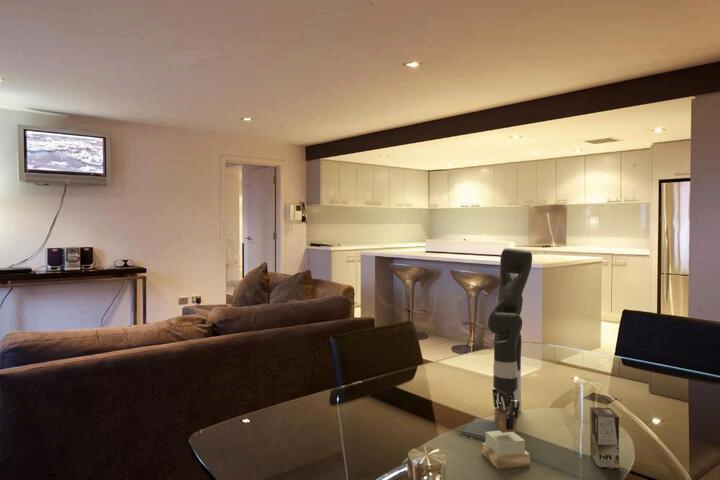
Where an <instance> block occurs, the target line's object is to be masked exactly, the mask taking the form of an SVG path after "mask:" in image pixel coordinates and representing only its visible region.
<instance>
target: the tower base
mask: <svg viewBox="0 0 720 480" xmlns="http://www.w3.org/2000/svg"><path fill="white" fill-rule="evenodd" d="M481 454H482V455H483V457H485V458H486V459H487V460H488V461H489V462H491V464H492V465H494V466H495V467H496V469H498V470H499V469H507V468H508V469H509V468H515V467H516V468H517V467H519V468H520V467H526V466H527V467H528V466H531V454H530V453H529V451H527V450H525V453H521V454H511V455H502V456H499V455H498V454H496V453H495V452H494V451H493V450H492V449H491V448H490V447H488V446H487V445H486V444H485V442H482V443H481Z"/></svg>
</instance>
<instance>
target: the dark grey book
mask: <svg viewBox="0 0 720 480" xmlns="http://www.w3.org/2000/svg"><path fill="white" fill-rule="evenodd" d="M475 418H476V419H475ZM475 418H474V419H473V420H474V421H473V420H472V421H473V422H472V421H471V422H472V423H471V422H470V423H471V424H470V423H468V424H469V425H468V424H467V425H468V426H467V425H466V426H467V427H466V426H465V427H466V428H465V427H464V428H465V429H464V428H462V430H463V431H462V432H461V433H460V434H461V435H463V436H467V437H472V438H474V439H473V440H475V439H476V440H475V441H480V442H482V443H484V442H485V432H489V431H500V430H498V429H497V428H496V427H495V420H489V419H485V418H479V417H475Z"/></svg>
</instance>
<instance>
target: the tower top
mask: <svg viewBox="0 0 720 480" xmlns="http://www.w3.org/2000/svg"><path fill="white" fill-rule="evenodd" d="M485 444H486V445H487V446H488V447H490V448H491V449H492V450H493V451H494V452H495V453H496V454H498V455H499V456H502V455H511V454H521V453H525V451H526V440H525V439H524V438H523V437H521V436H520V435H518V434H516V432H505V433H502V432H501V431H489V432H485Z"/></svg>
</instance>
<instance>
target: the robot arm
mask: <svg viewBox="0 0 720 480" xmlns="http://www.w3.org/2000/svg"><path fill="white" fill-rule="evenodd" d="M532 264H533V255H532V252H531V251H529V250H525V249H518V248H512V247H506V248H505V247H504V249H502V252H501V255H500V263H499V268H500V270H499V276H500V278H499V292H498V298H497V304H496V305H495V307H494V308H493V310H492V311H491V313H490V314H489V317H488V320H487V327H488V329H489V331H490V332H492V333H493V334H494V336H493V337H494V338H493V365H492V366H493V369H492V370H493V376H492V377H493V381H492V384H493V385H492V387H493V389H492V397H493V398H492V399H493V407H494V409H495V408H503V409H504V411H505V412H506V429H507V430H513V429H514V418H517V419H518V417H519V412H522V411H521V410H522V375H521V374H522V371H521V369H522V365H521V364H522V362H521V361H522V334H521V332H522V327H523V319H522V317H521V313H522V310H523V302H524V301H523V300H524V298H523V292H524V289H525V287H526V284H527V282H528V278H529V276H530V272H531V269H532ZM511 274H514V275H516V276H515V277H514V278H512V276H511ZM508 407H509V408H508ZM509 410H510V411H509ZM508 411H509V412H508ZM514 412H515V414H514Z"/></svg>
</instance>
